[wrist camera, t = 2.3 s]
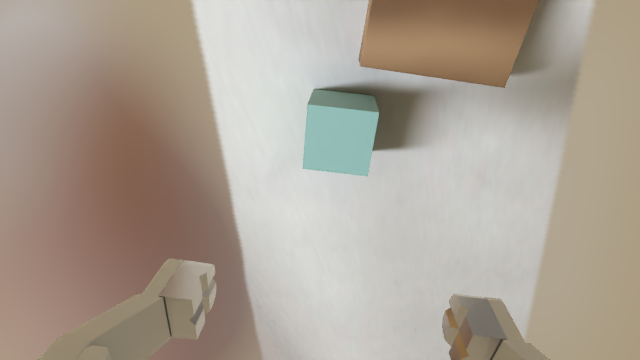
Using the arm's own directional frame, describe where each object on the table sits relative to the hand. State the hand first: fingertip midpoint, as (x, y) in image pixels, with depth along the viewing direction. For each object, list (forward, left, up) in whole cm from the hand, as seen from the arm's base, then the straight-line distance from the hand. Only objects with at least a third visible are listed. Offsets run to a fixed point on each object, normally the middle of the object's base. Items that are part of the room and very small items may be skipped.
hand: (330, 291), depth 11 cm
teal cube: (0, 0, -19) cm, 19 cm away
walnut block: (-10, +6, -19) cm, 23 cm away
